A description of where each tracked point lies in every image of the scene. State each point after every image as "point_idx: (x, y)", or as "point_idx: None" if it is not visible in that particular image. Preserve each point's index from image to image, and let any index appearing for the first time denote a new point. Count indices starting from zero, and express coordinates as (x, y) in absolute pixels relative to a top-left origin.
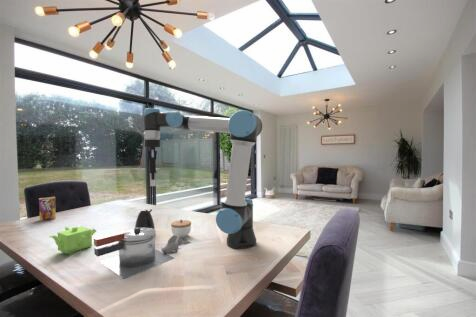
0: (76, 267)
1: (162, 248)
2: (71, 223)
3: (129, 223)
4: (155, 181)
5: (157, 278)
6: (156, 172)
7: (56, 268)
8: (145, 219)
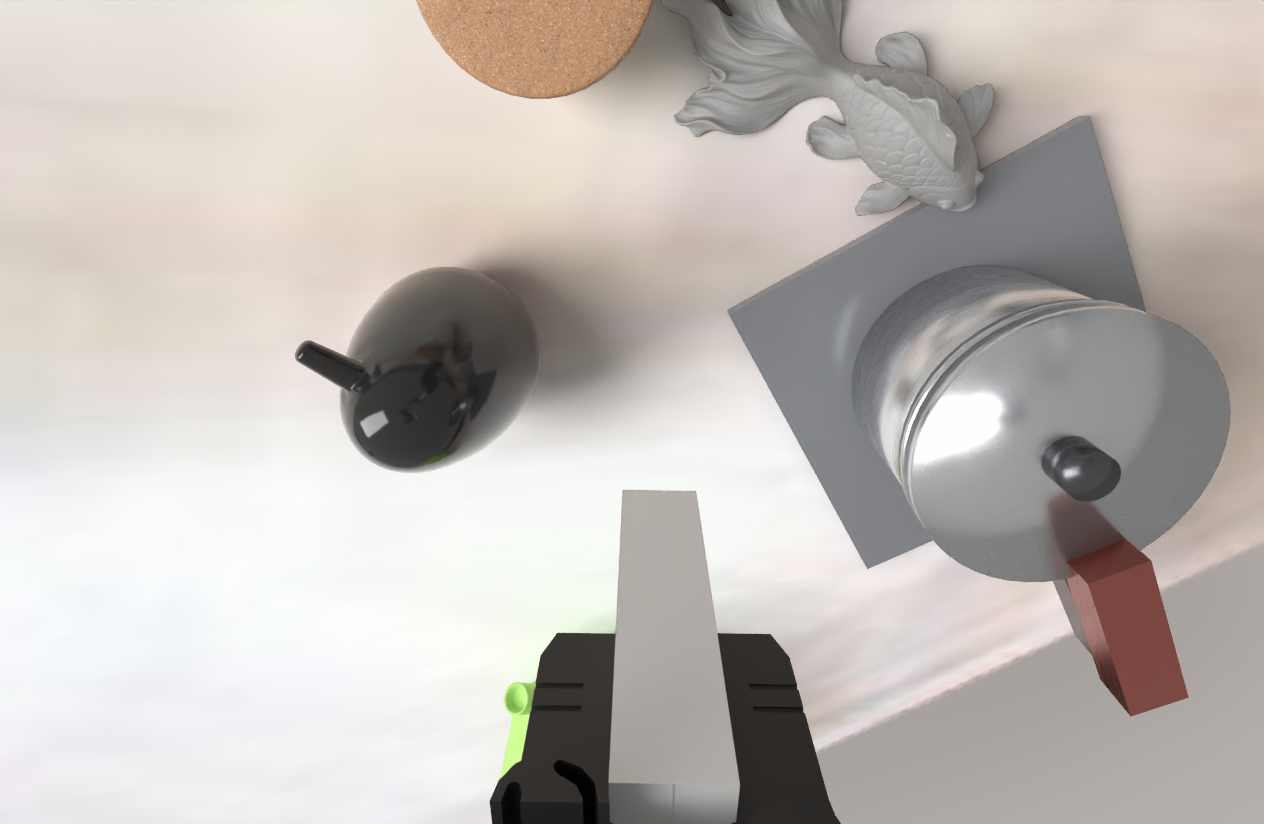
0: (851, 644)
1: (885, 207)
2: (31, 810)
3: (41, 469)
4: (705, 566)
5: (1261, 254)
6: (594, 775)
7: (818, 711)
8: (496, 389)
